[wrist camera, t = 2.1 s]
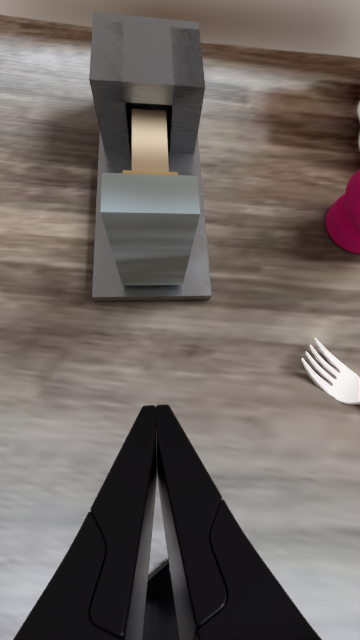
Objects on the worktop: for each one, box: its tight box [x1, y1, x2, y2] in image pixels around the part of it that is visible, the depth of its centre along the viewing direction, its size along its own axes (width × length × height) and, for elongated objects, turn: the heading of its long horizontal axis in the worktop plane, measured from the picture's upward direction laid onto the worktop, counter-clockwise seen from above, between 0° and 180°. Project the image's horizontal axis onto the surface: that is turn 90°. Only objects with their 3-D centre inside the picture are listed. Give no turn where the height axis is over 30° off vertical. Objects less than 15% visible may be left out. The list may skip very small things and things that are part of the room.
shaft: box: [100, 109, 200, 285], centre depth 20 cm, size 15×5×9 cm, turn 3°
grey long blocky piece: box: [89, 12, 211, 301], centre depth 23 cm, size 24×10×7 cm, turn 3°
